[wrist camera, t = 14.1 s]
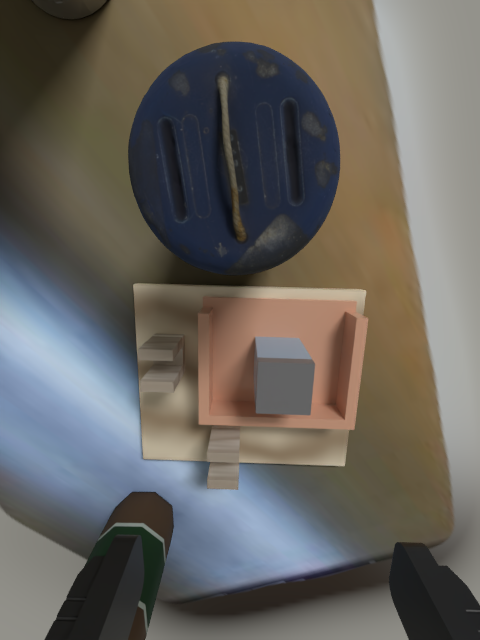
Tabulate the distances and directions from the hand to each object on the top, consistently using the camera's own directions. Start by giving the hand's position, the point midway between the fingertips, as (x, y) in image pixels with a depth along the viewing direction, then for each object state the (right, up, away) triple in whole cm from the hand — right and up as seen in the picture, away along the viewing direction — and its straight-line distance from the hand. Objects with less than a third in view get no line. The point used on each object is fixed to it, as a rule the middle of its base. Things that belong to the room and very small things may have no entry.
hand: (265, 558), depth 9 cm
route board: (0, +1, +23) cm, 23 cm away
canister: (-1, +18, +19) cm, 26 cm away
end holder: (+3, +4, +21) cm, 22 cm away
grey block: (+3, +4, +21) cm, 21 cm away
